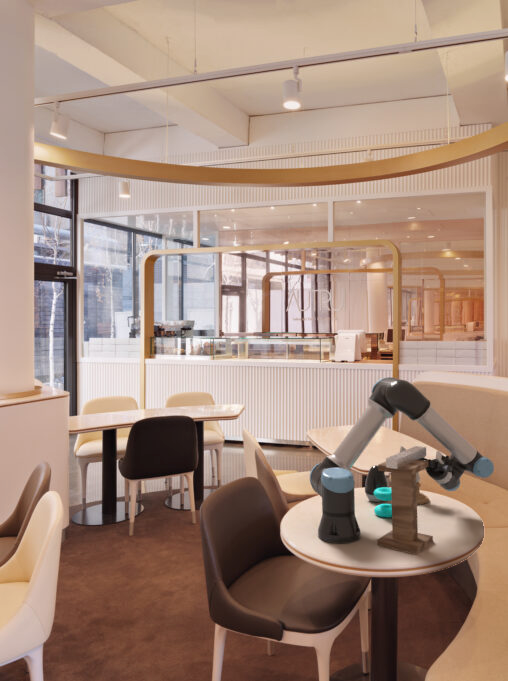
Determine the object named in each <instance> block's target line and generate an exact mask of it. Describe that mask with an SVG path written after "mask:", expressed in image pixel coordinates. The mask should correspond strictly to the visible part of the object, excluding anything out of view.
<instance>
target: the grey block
mask: <svg viewBox="0 0 508 681" xmlns="http://www.w3.org/2000/svg"><path fill="white" fill-rule="evenodd" d="M424 456H425V457H426V456H427V447H426V446H417V445H415V446H413V447H410V448H408V449H406V450H405V451H403V452H400V451H399V452H398V453H396V454H393V455H391V456H389V457H386V458H385V462H386V467H387V468H394V469H398V468H400V467H403V466H405V465H407V464H409V463H411V462H413V461H416V460H418V459H420V458H422V457H424Z"/></svg>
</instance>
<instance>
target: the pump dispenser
mask: <svg viewBox="0 0 508 681" xmlns="http://www.w3.org/2000/svg"><path fill="white" fill-rule="evenodd" d="M384 472H385V471H378V464H377V465H373V466H371V467H370V469H369V470H368V473H367V475H366V478H365V484H364V493H365V496H366V497H367V499H368V500H369V501H371V502H373V503H381V502H384V500H380V499H378V498H376V497H375V496H374V491H375V490H376V489H377V488H382V487H388V483H387V479H386V476H385V473H384Z"/></svg>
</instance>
